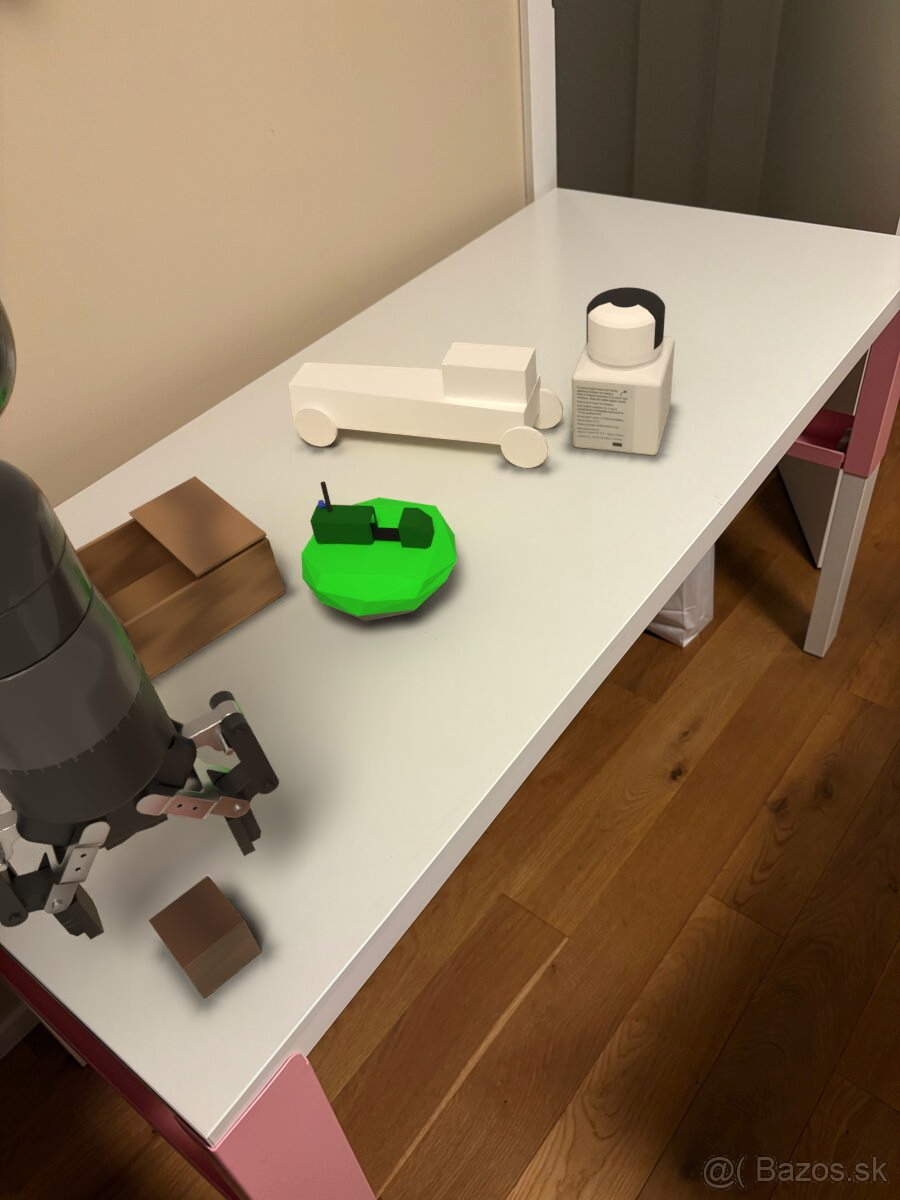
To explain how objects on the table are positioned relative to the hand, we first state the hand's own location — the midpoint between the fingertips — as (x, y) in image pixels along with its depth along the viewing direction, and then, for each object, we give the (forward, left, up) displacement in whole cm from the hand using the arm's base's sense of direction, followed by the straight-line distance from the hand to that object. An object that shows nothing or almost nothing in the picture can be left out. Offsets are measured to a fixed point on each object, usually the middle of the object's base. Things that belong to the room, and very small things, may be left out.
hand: (171, 880), depth 51 cm
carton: (+14, +27, -8) cm, 31 cm away
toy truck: (+42, +29, -8) cm, 52 cm away
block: (0, 0, -8) cm, 8 cm away
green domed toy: (+26, +15, -8) cm, 31 cm away
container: (+55, +16, -8) cm, 58 cm away
